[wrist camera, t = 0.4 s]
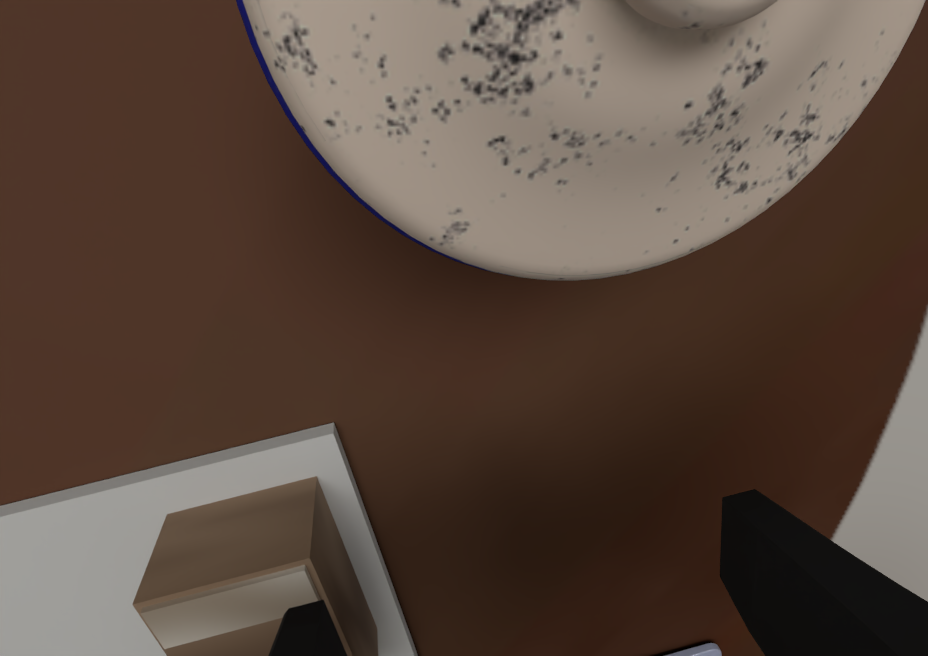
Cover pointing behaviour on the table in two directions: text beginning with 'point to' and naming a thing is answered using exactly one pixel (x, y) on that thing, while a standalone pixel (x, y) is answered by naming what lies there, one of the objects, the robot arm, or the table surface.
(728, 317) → the table surface
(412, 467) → the table surface
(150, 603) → the brown rectangular block
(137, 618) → the grey mat
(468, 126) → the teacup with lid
